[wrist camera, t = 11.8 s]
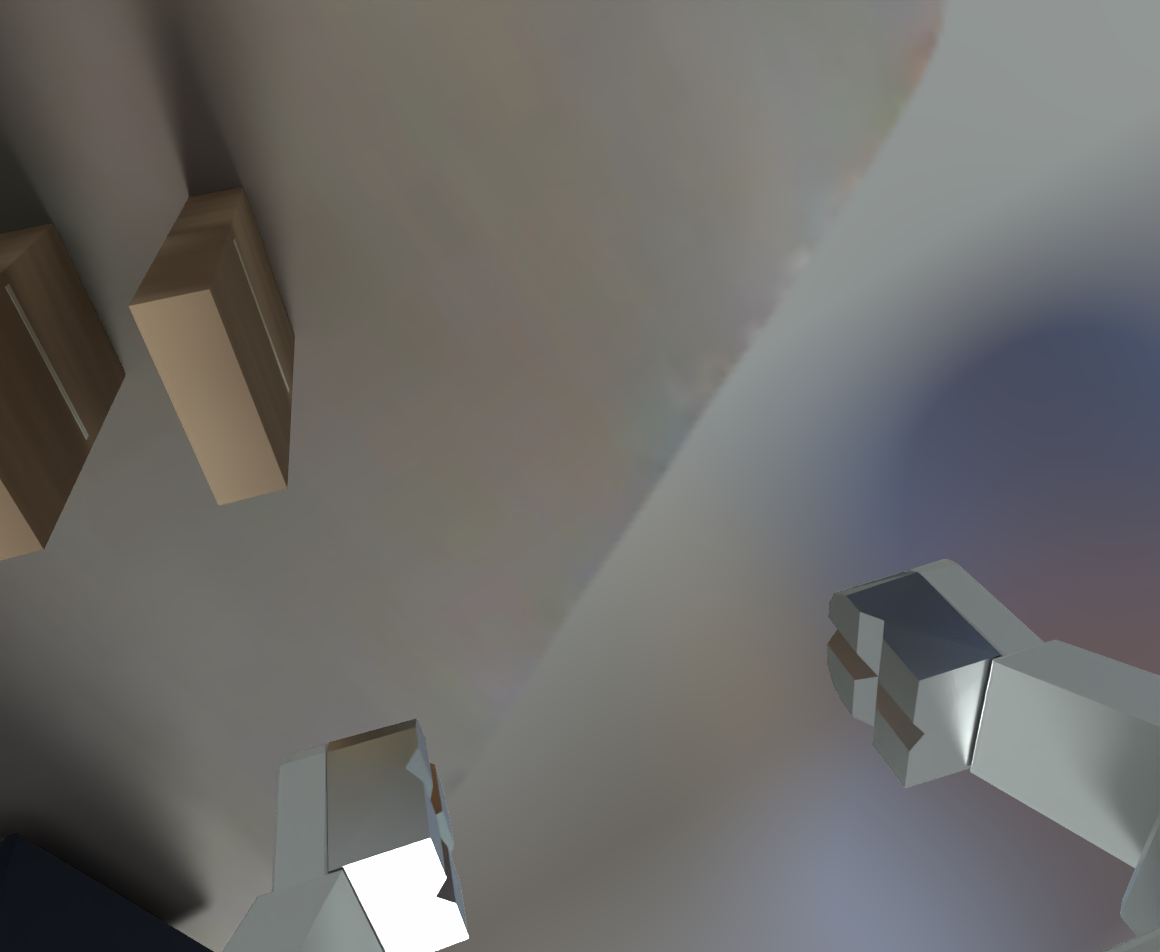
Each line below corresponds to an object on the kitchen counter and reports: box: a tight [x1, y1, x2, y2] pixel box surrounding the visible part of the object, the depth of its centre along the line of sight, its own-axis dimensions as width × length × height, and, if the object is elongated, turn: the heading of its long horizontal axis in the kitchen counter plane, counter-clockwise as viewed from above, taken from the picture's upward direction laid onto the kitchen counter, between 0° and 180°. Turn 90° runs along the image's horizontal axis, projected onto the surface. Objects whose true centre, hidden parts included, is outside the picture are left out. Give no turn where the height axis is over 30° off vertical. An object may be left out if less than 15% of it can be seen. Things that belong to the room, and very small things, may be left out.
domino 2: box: [129, 187, 295, 505], centre depth 22 cm, size 2×5×10 cm, turn 7°
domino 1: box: [0, 224, 125, 561], centre depth 22 cm, size 2×5×10 cm, turn 7°
